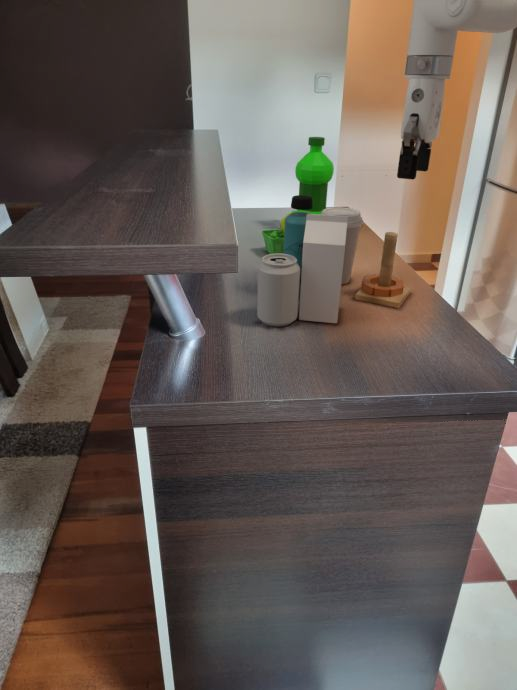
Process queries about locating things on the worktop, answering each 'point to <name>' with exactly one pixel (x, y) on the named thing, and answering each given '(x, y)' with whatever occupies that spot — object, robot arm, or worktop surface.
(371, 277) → the ring
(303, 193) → the plastic bottle
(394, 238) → the post
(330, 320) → the milk carton
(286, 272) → the can
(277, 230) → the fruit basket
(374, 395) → the worktop surface
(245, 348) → the worktop surface
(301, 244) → the beverage bottle
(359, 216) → the coffee cup
